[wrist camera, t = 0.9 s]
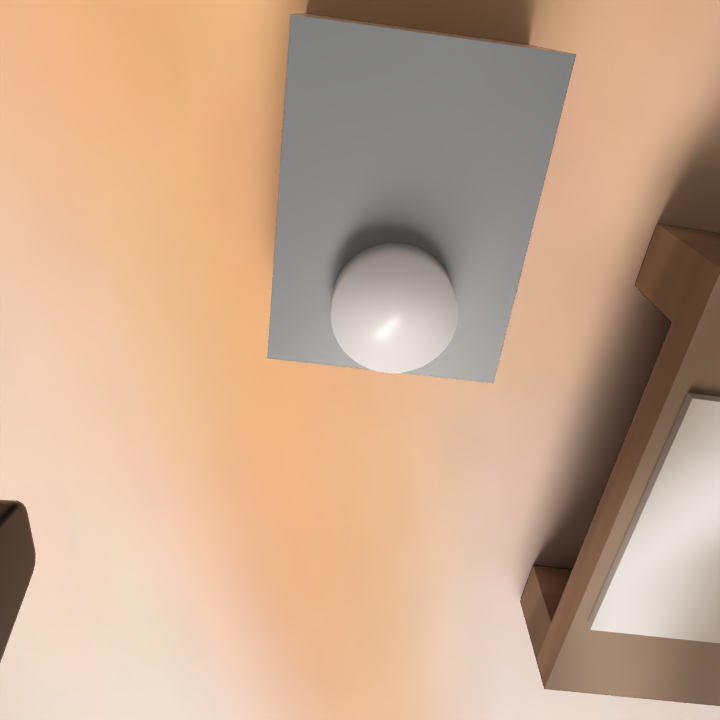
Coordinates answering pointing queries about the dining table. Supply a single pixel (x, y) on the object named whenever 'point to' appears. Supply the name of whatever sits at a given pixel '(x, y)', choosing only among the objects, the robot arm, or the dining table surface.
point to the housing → (407, 194)
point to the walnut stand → (651, 515)
